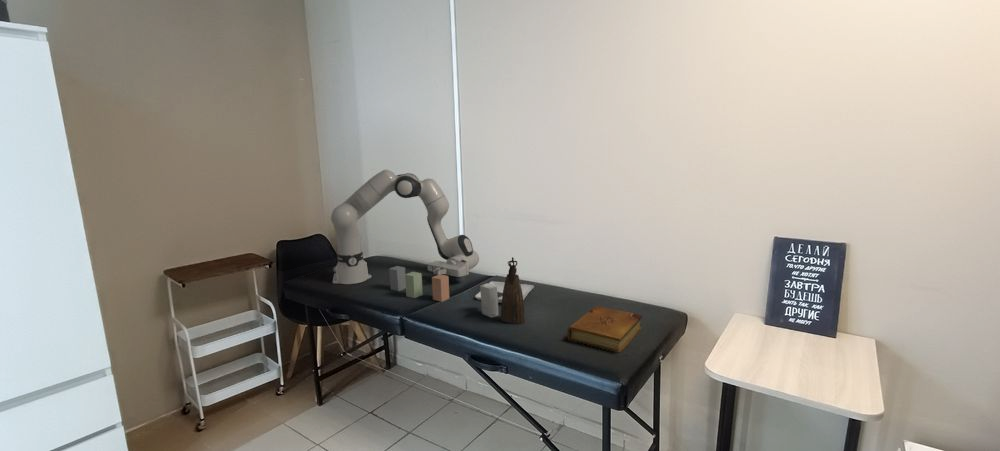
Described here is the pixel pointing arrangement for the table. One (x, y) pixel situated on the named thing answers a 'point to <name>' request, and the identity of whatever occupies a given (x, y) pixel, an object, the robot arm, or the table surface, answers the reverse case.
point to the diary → (605, 328)
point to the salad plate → (500, 287)
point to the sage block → (413, 284)
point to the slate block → (397, 278)
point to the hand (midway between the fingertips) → (435, 272)
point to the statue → (512, 298)
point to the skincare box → (489, 300)
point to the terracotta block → (440, 287)
